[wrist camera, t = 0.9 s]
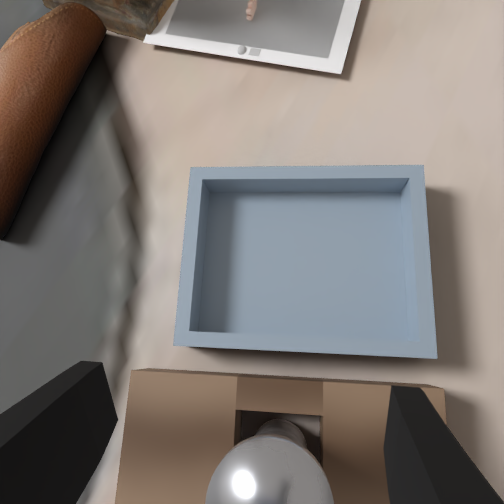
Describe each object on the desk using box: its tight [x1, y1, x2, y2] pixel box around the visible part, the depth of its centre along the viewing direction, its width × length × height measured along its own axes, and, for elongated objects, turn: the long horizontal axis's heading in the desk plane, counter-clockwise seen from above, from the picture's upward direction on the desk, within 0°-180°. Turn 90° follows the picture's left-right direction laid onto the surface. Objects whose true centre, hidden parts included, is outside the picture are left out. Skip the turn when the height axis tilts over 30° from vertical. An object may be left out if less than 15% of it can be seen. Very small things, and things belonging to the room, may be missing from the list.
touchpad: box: [143, 0, 361, 74], centre depth 28 cm, size 8×15×2 cm, turn 74°
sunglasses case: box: [0, 2, 107, 240], centre depth 27 cm, size 18×7×7 cm
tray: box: [173, 165, 438, 359], centre depth 22 cm, size 11×14×2 cm
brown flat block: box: [115, 368, 447, 504], centre depth 20 cm, size 8×16×2 cm, turn 87°
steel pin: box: [205, 419, 334, 504], centre depth 17 cm, size 4×4×8 cm
